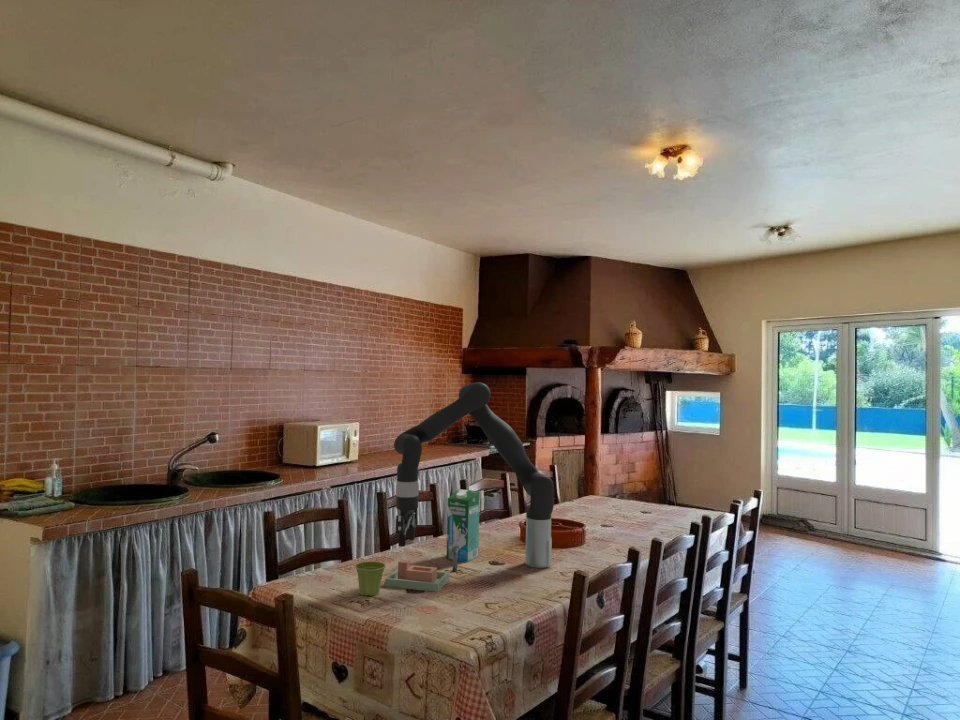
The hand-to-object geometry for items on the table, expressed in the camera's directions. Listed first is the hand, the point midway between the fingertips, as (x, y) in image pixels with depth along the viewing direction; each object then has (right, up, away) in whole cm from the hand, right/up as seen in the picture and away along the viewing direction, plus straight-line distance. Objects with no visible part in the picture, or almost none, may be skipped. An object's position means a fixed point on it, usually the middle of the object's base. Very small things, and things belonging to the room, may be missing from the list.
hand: (406, 542), depth 206 cm
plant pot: (-10, -12, -12) cm, 20 cm away
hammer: (+16, -14, +12) cm, 24 cm away
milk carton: (+18, -14, +29) cm, 37 cm away
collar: (+3, -12, -1) cm, 13 cm away
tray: (+4, -13, -1) cm, 13 cm away
